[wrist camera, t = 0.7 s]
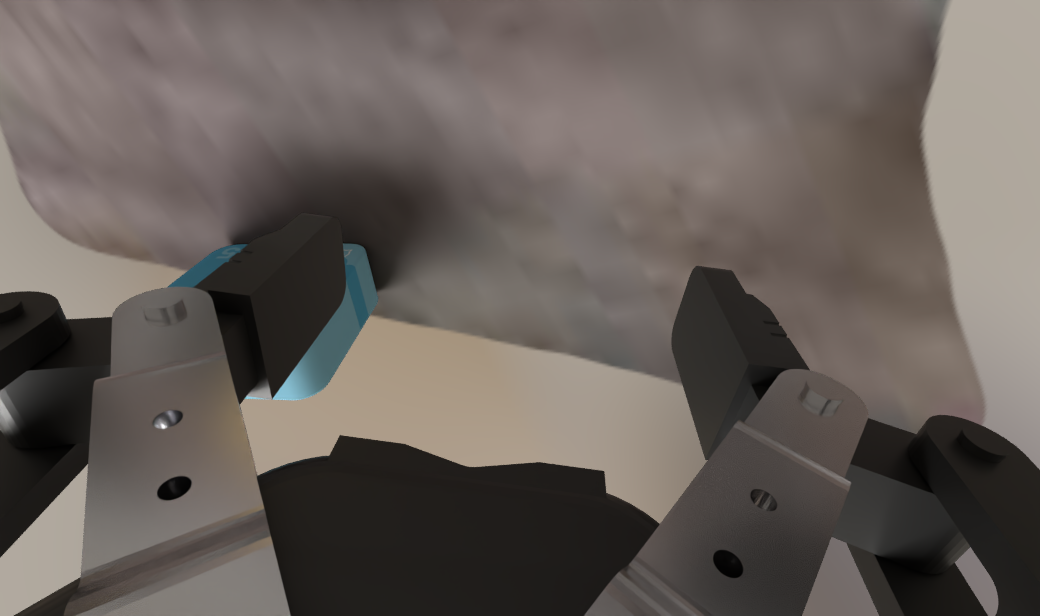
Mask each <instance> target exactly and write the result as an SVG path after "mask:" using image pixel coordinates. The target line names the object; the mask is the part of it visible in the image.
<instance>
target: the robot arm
mask: <svg viewBox="0 0 1040 616" xmlns="http://www.w3.org/2000/svg"><path fill="white" fill-rule="evenodd" d="M240 251H241V252H240V253H236V254H235V255H234V256H232V257H231V258H230V259H229V262H225V263H224V264H222V265H221V266H220V267H218V268H217V269H216V270H215V271H213V272H212V273H211V274H209V275H208V276H207V277H206V278H204V279H203V280H202V281H201V282H199V283H198V284H197V285H195V286H194V287H193V288H191V287H168V288H161V289H156V290H151V291H148V292H144V293H142V294H139V295H136V296H134V297H132V298H130V299H128V300H126V301H125V302H123V303H122V304H121V305H119V306H118V307H117V308H116V310H115V311H114V313H113V316H112V317H107V318H106V317H105V318H87V319H66V317H65V315H64V313H63V311H62V308H61V306H60V304H59V302H58V300H57V299H56V298H55V297H54V296H52V295H50V294H47V293H41V292H30V291H29V292H28V291H27V292H12V293H5V294H0V557H1V556H2V555H3V554H4V553H5V552H6V551H7V550H8V549H9V548H10V546H11V545H12V544H13V543H14V542H15V541H16V540H17V539H18V538H19V537H20V536H21V535H22V534H23V532H24V531H26V529H27V528H28V527H29V526H30V525H31V524H32V523H33V522H34V521H35V520H36V519H37V518H38V517H39V516H40V514H41V513H42V512H43V511H44V510H45V509H46V508H47V507H48V506H49V505H50V504H51V502H53V501H54V499H55V498H56V497H57V496H58V495H59V494H60V493H61V492H62V491H63V490H64V489H65V488H66V487H67V486H68V485H69V483H70V482H71V481H72V480H73V479H74V478H75V477H76V476H77V475H78V474H79V473H80V472H81V471H82V470H83V469H84V467H85V466H86V465H87V464H88V473H87V489H86V504H85V519H84V535H83V550H82V566H81V577H80V578H78V579H77V580H75V581H73V582H71V583H70V584H68V585H66V586H64V587H63V588H61V589H59V590H58V591H56V592H54V593H52V594H51V595H49V596H47V597H45V598H44V599H42V600H40V601H38V602H37V603H35V604H33V605H31V606H30V607H28V608H26V609H25V610H23V611H21V612H20V613H18V614H16V615H14V616H802V614H803V611H804V609H805V606H806V603H807V601H808V597H809V595H810V592H811V590H812V587H813V584H814V582H815V579H816V577H817V574H818V571H819V569H820V565H821V563H822V561H823V558H824V555H825V553H826V550H827V547H828V545H829V542H830V539H831V537H834V538H836V539H839V540H841V541H844V542H846V543H847V545H848V548H849V550H850V552H851V554H852V556H853V558H854V561H855V563H856V565H857V567H858V569H859V572H860V574H861V576H862V578H863V581H864V583H865V585H866V587H867V589H868V592H869V594H870V596H871V598H872V601H873V603H874V605H875V607H876V609H877V612H878V614H879V616H988V615H987V613H986V612H985V610H984V609H983V607H982V606H981V604H980V602H979V601H978V599H977V597H976V596H975V594H974V593H973V591H972V590H971V588H970V586H969V585H968V583H967V582H966V580H965V578H964V577H963V575H962V574H961V572H960V571H959V569H958V567H957V566H956V564H955V563H954V562H955V561H957V560H958V558H959V557H960V556H962V555H963V554H964V552H966V551H967V550H968V549H969V548H970V547H971V548H972V550H973V551H974V553H975V554H976V556H977V557H978V559H979V560H980V561H981V563H982V565H983V566H984V567H985V569H986V570H987V572H988V573H989V575H990V576H991V578H992V580H993V582H994V584H995V586H996V589H997V593H998V601H999V605H998V610H997V614H996V616H1040V470H1039V469H1038V468H1037V467H1036V466H1035V464H1034V463H1033V462H1032V461H1031V460H1030V459H1029V458H1028V457H1027V456H1026V455H1025V454H1024V453H1023V452H1022V451H1021V450H1020V449H1018V448H1017V447H1016V446H1015V445H1014V444H1012V443H1010V442H1009V441H1008V440H1007V439H1005V438H1004V437H1002V436H1000V435H999V434H997V433H995V432H993V431H991V430H989V429H988V428H986V427H984V426H981V425H979V424H977V423H974V422H972V421H969V420H966V419H963V418H959V417H954V416H948V415H937V416H932V417H930V418H929V419H928V420H927V421H926V422H925V424H924V425H923V426H922V428H921V429H920V430H919V432H918V433H917V434H914V433H911V432H908V431H905V430H902V429H899V428H896V427H893V426H890V425H887V424H884V423H881V422H878V421H875V420H872V419H869V418H868V415H869V414H868V409H867V407H866V405H865V404H864V402H863V401H862V400H861V398H860V397H859V396H858V395H857V394H856V393H854V392H853V391H852V390H851V389H849V388H848V387H847V386H845V385H844V384H842V383H840V382H839V381H837V380H835V379H833V378H831V377H828V376H826V375H824V374H821V373H818V372H814V371H810V369H809V368H808V366H807V365H806V363H805V362H804V360H803V359H802V357H801V356H800V354H799V353H798V351H797V349H796V348H795V346H794V345H793V343H792V342H791V340H790V339H789V338H787V334H786V333H785V331H784V330H783V328H782V327H781V326H779V322H778V321H777V319H776V317H775V316H774V314H773V313H772V311H771V310H770V308H768V307H767V306H766V305H765V304H763V303H762V302H761V301H759V300H758V299H757V298H756V297H754V296H753V295H750V294H746V292H745V291H744V289H743V288H742V286H741V284H740V283H739V281H738V279H737V278H736V276H735V274H734V273H733V272H732V271H731V270H725V269H717V268H710V267H702V266H696V267H695V268H694V269H693V271H692V273H691V275H690V277H689V280H688V283H687V286H686V289H685V292H684V295H683V298H682V301H681V304H680V307H679V310H678V313H677V316H676V319H675V323H674V326H673V331H672V351H673V355H674V358H675V361H676V364H677V368H678V371H679V374H680V378H681V381H682V384H683V388H684V391H685V394H686V397H687V400H688V404H689V407H690V411H691V414H692V417H693V420H694V423H695V427H696V430H697V433H698V437H699V440H700V444H701V447H702V450H703V454H704V456H705V460H708V461H707V462H706V464H705V465H704V466H703V468H702V469H701V470H700V472H699V473H698V474H697V475H696V477H695V478H694V480H693V481H692V482H691V483H690V485H689V486H688V487H687V489H686V490H685V492H684V493H683V494H682V496H681V497H680V498H679V500H678V501H677V502H676V504H675V505H674V506H673V507H672V509H671V510H670V511H669V513H668V514H667V515H666V517H665V518H664V519H663V521H662V522H661V523H660V524H659V523H658V522H657V521H655V520H654V519H653V518H651V517H650V516H649V515H647V514H646V513H645V512H643V511H641V510H640V509H638V508H636V507H635V506H633V505H632V504H630V503H628V502H626V501H624V500H622V499H619V498H617V497H615V496H613V495H610V494H608V493H606V486H605V474H604V471H599V470H592V469H585V468H577V467H569V466H562V465H555V464H547V463H541V462H537V463H524V464H511V465H498V466H485V467H467V466H463V465H460V464H457V463H455V462H452V461H449V460H447V459H444V458H441V457H438V456H435V455H433V454H430V453H428V452H425V451H422V450H419V449H417V448H414V447H411V446H409V445H406V444H400V443H393V442H385V441H378V440H371V439H363V438H356V437H349V436H341V435H340V436H339V438H338V440H337V442H336V444H335V446H334V448H333V450H332V452H331V454H330V456H321V457H315V458H309V459H304V460H300V461H296V462H293V463H288V464H286V465H283V466H280V467H278V468H274V469H272V470H269V471H267V472H265V473H263V474H261V475H257V471H256V467H255V463H254V459H253V455H252V451H251V447H250V444H249V439H248V436H247V431H246V428H245V424H244V420H243V416H242V412H241V408H240V404H241V403H242V401H243V400H244V399H245V398H246V396H249V397H256V398H263V399H271V400H272V399H273V398H274V396H275V395H276V393H277V392H278V391H279V389H280V388H281V387H282V385H283V384H284V382H285V381H286V380H287V378H288V377H289V376H290V374H291V373H292V371H293V370H294V369H295V367H296V366H297V365H298V363H299V362H300V360H301V359H302V358H303V356H304V355H305V354H306V352H307V351H308V349H309V348H310V347H311V345H312V344H313V343H314V341H315V340H316V338H317V337H318V336H319V334H320V333H321V332H322V330H323V329H324V327H325V326H326V325H327V323H328V322H329V320H330V319H331V318H332V316H333V315H334V314H335V312H336V311H337V309H338V308H339V307H340V305H341V303H342V301H343V299H344V295H345V290H346V272H345V261H344V250H343V238H342V228H341V224H340V221H339V220H338V218H336V217H330V216H323V215H315V214H308V213H301V214H299V215H298V216H297V217H295V218H294V219H293V220H292V221H291V222H289V223H288V224H287V225H286V226H284V227H283V228H282V229H281V230H280V231H274V232H272V233H269V234H267V235H264V236H261V237H259V238H256V239H254V240H253V241H252V242H250V243H249V244H248V245H247V246H245V247H244V248H243V249H241V250H240Z"/></svg>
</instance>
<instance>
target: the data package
mask: <svg viewBox="0 0 1040 616" xmlns="http://www.w3.org/2000/svg"><path fill="white" fill-rule="evenodd" d="M247 245H248V244H237V245H230V246H226V247H223V248H220V249H218V250H216V251H214V252H212V253H211V254H209V255H208V256H207V257H205V258H204V259H203V260H202V261H200V262H199V263H198V264H196V265H195V266H194V267H193V268H191V269H190V270H189V271H187V272H186V273H185V274H184V275H182V276H181V277H180V278H178V279H177V280H176V281H174V282H173V283H172V284H171V285H169V286H168V287H191V288H193V287H194V286H195V285H197V284H198V283H199V282H201V281H202V280H203V279H204V278H206V277H207V276H208V275H209V274H211V273H212V272H213V271H215V270H216V269H217V268H218V267H220V266H221V265H222V264H224V263H225V262H229V259H230V258H231V257H232V256H234V255H235V254H236V253H240V252H241V251H240V250H241V249H243V248H244V247H245V246H247ZM343 250H344V261H345V272H346V290H345V295H344V299H343V301H342V303H341V305H340V307H339V308H338V309H337V311H336V312H335V314H334V315H333V316H332V318H331V319H330V320H329V322H328V323H327V325H326V326H325V327H324V329H323V330H322V332H321V333H320V334H319V336H318V337H317V338H316V340H315V341H314V343H313V344H312V345H311V347H310V348H309V349H308V351H307V352H306V354H305V355H304V356H303V358H302V359H301V360H300V362H299V363H298V365H297V366H296V367H295V369H294V370H293V371H292V373H291V374H290V376H289V377H288V378H287V380H286V381H285V382H284V384H283V385H282V387H281V388H280V389H279V391H278V392H277V393H276V395H275V396H274V398H273V399H274V400H300V399H304V398H308V397H310V396H313V395H315V394H317V393H318V392H320V391H321V390H322V389H324V388H325V387H326V385H328V383H329V382H330V380H331V378H332V377H333V375H334V374H335V372H336V370H337V369H338V367H339V365H340V364H341V362H342V360H343V359H344V357H345V355H346V354H347V352H348V350H349V349H350V347H351V345H352V344H353V342H354V341H355V339H356V337H357V336H358V334H359V332H360V331H361V329H362V327H363V325H364V324H365V323H366V321H367V319H368V318H369V316H370V314H371V313H372V311H373V309H374V308H375V306H376V304H377V302H378V296H377V292H376V288H375V284H374V281H373V277H372V273H371V269H370V265H369V261H368V257H367V254H366V250H365V249H364V248H363V247H362V246H360V245H358V244H343ZM168 287H167V288H168ZM245 399H263V398H256V397H249V396H246V398H245ZM273 399H272V400H273Z"/></svg>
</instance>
